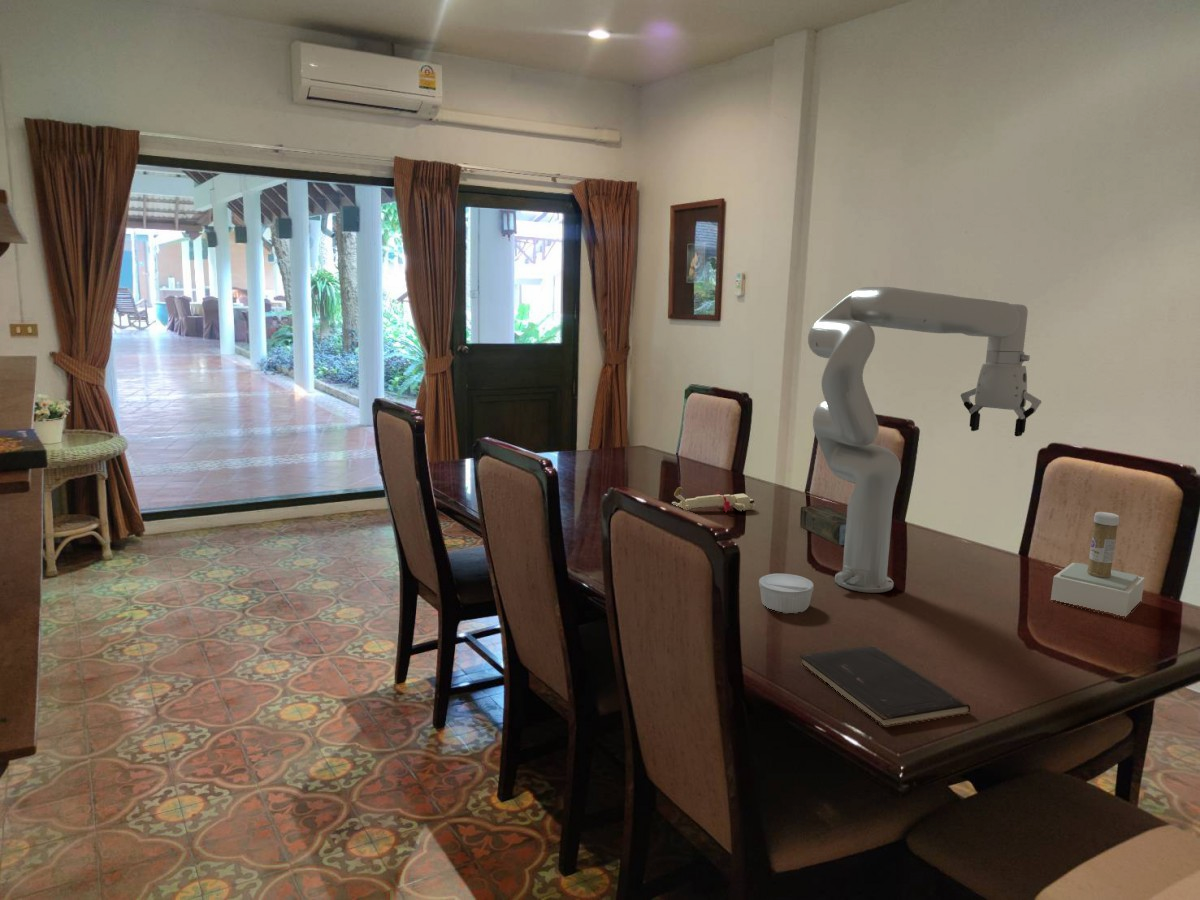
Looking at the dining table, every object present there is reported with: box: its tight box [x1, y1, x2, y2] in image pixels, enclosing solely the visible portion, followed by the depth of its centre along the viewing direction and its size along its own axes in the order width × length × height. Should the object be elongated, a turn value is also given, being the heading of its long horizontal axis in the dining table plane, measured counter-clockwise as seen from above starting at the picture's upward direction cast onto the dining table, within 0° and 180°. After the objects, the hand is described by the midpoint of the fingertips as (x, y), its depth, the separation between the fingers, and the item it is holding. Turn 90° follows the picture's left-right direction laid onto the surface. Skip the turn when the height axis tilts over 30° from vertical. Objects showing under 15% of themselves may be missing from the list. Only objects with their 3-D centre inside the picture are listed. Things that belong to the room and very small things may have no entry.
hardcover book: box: [799, 644, 971, 725], centre depth 136 cm, size 16×23×2 cm
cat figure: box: [671, 486, 756, 513], centre depth 249 cm, size 10×9×25 cm
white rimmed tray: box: [1050, 562, 1145, 617], centre depth 178 cm, size 14×14×6 cm
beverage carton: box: [799, 504, 847, 546], centre depth 226 cm, size 8×19×7 cm, turn 19°
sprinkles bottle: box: [1087, 511, 1120, 577], centre depth 176 cm, size 5×5×14 cm
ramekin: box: [758, 572, 815, 614], centre depth 172 cm, size 11×11×5 cm
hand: (996, 433), depth 192 cm, fingers open, 9 cm apart
